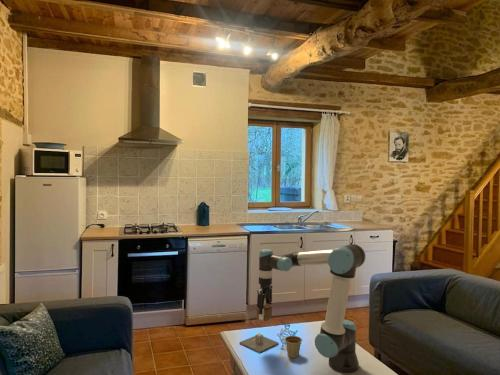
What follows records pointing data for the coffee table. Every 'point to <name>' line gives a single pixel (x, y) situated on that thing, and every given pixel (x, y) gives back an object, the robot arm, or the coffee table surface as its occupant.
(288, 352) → the flower pot
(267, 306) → the knob
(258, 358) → the coffee table surface
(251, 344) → the post plate
